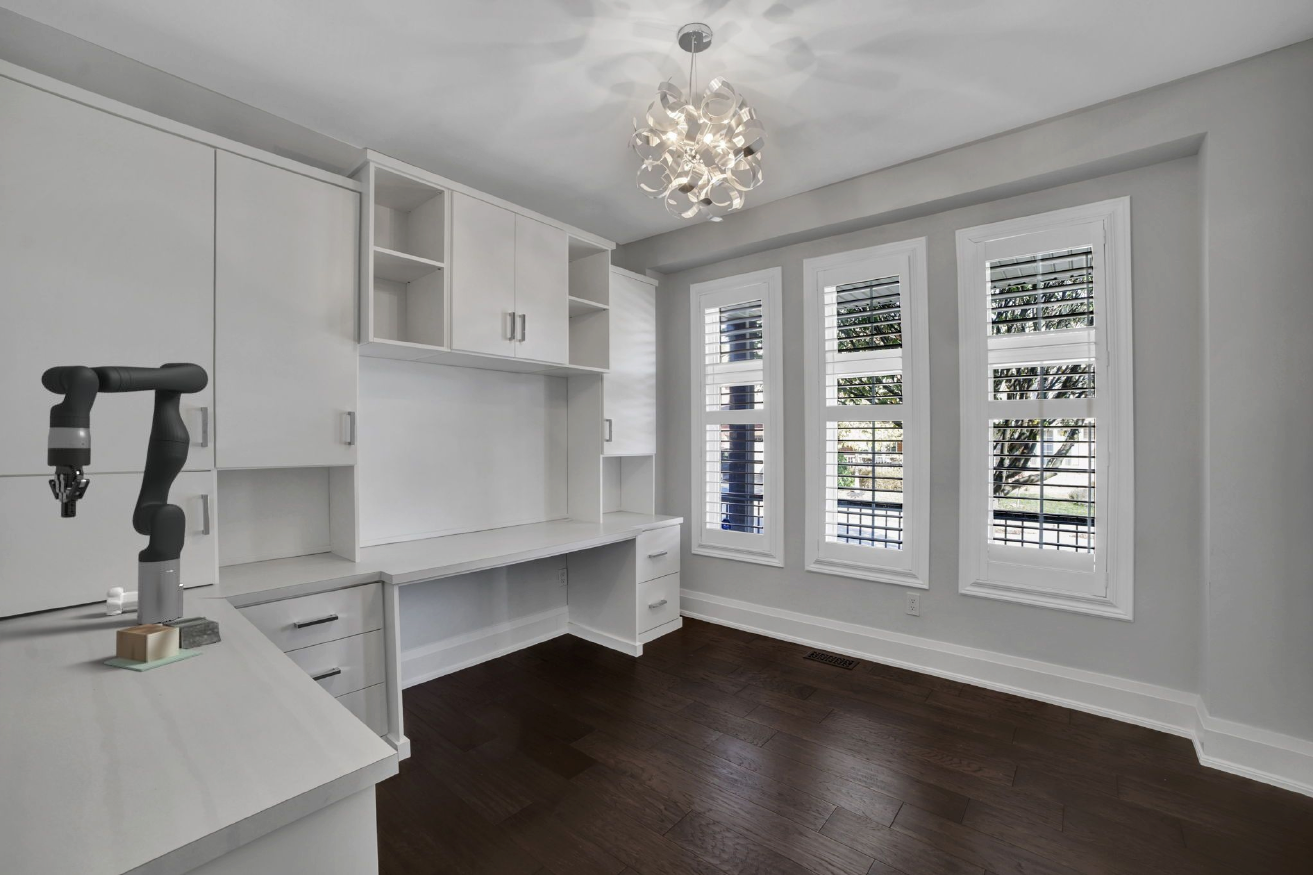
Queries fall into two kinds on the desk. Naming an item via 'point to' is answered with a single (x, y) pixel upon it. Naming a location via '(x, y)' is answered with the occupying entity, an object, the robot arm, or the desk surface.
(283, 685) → the desk surface
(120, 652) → the walnut block
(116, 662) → the sage mat
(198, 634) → the stone block
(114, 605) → the bone shaped toy
